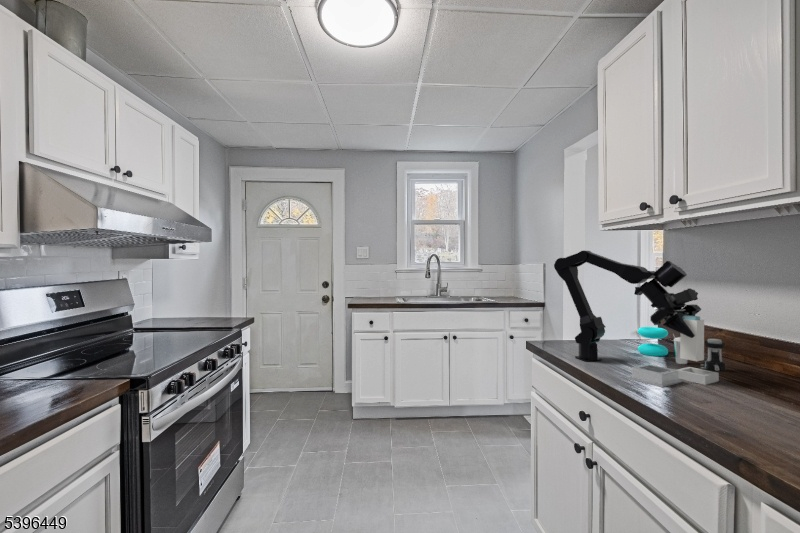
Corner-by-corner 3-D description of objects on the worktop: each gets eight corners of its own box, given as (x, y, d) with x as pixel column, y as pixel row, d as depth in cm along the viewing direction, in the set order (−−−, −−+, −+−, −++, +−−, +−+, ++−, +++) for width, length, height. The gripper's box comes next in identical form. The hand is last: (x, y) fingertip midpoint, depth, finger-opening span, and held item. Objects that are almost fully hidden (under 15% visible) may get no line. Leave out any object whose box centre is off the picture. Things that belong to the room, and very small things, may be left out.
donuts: (660, 326, 159) (673, 330, 150) (660, 351, 160) (673, 357, 150) (633, 326, 161) (644, 330, 151) (633, 350, 161) (645, 356, 151)
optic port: (628, 378, 123) (628, 367, 123) (648, 374, 127) (647, 363, 127) (662, 387, 114) (662, 375, 114) (682, 382, 118) (682, 370, 118)
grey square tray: (675, 377, 123) (675, 369, 123) (689, 374, 126) (689, 366, 126) (705, 384, 116) (705, 376, 116) (718, 381, 119) (718, 372, 119)
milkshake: (677, 360, 144) (677, 332, 144) (692, 364, 139) (692, 335, 139) (668, 361, 143) (668, 333, 143) (683, 365, 138) (683, 336, 138)
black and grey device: (704, 371, 130) (704, 340, 130) (696, 367, 135) (696, 337, 135) (728, 372, 128) (728, 341, 128) (720, 368, 133) (719, 338, 133)
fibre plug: (680, 358, 122) (680, 315, 122) (687, 356, 124) (687, 314, 124) (696, 361, 118) (697, 317, 118) (703, 359, 120) (704, 316, 120)
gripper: (660, 280, 120) (702, 322, 110) (694, 279, 129) (735, 317, 119) (634, 304, 127) (671, 345, 117) (668, 301, 136) (705, 339, 126)
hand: (697, 336), depth 120 cm, fingers closed on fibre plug, 4 cm apart
